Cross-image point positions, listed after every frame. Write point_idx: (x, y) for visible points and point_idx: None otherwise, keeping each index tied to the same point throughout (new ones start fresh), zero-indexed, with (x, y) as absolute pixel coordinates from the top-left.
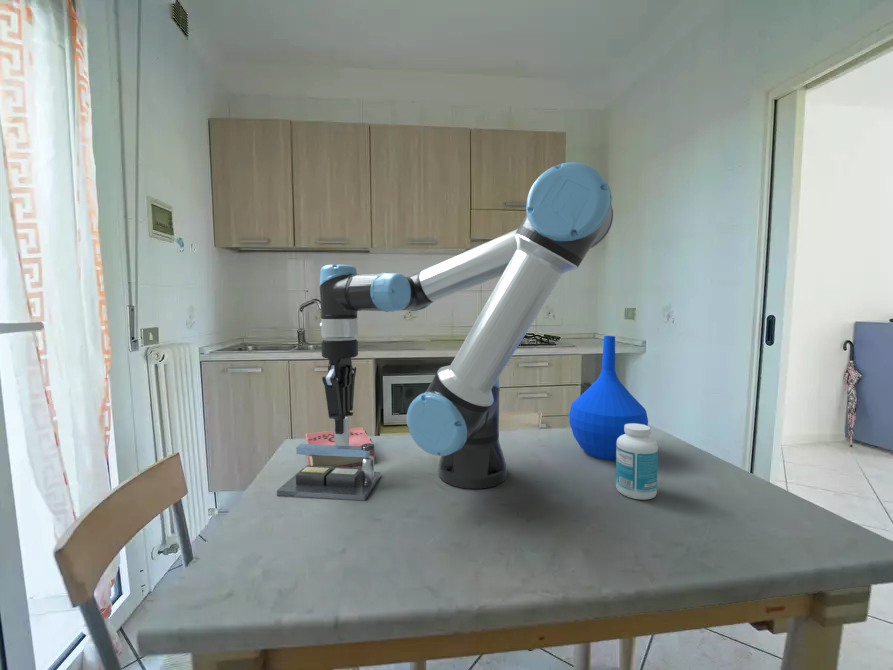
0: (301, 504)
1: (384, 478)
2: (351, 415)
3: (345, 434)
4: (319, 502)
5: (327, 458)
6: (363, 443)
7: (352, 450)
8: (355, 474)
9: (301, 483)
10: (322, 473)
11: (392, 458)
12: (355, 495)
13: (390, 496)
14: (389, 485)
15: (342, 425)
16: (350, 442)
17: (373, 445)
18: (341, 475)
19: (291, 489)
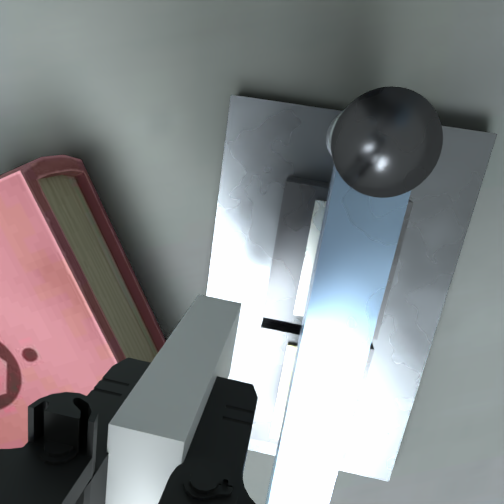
0: (471, 375)
1: (258, 73)
2: (96, 405)
3: (221, 355)
4: (466, 316)
5: None
6: (19, 226)
7: (392, 255)
8: None
9: None
10: None
11: (21, 66)
12: (482, 178)
13: (463, 8)
14: (339, 33)
15: (220, 426)
16: (13, 299)
17: (390, 92)
18: None
19: (386, 437)
